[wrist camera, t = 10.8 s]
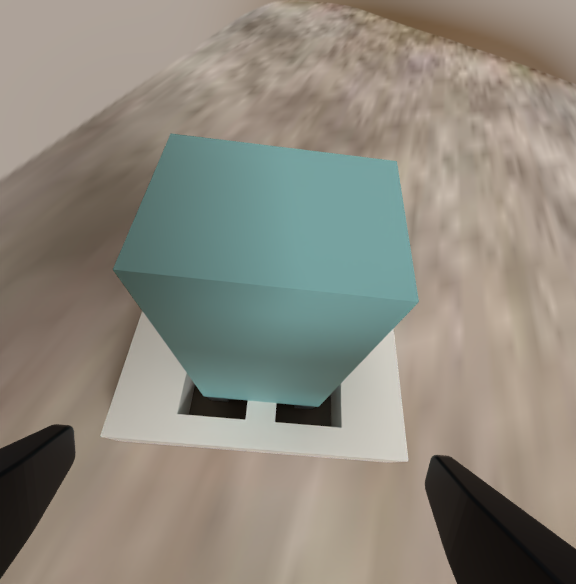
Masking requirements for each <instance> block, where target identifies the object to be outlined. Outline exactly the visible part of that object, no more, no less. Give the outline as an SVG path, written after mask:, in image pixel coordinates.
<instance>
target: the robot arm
mask: <svg viewBox="0 0 576 584" xmlns="http://www.w3.org/2000/svg"><path fill="white" fill-rule="evenodd" d="M74 459H75V440H74V429H73V428H72V426H69V425H59V424H55V425H51V426H49V427H47V428H44V429H42V430H40V431H38V432H36V433H34V434H31V435H29V436H27V437H25V438H23V439H21V440H18V441H16V442H14V443H12V444H10V445H8V446H5V447H3V448H1V449H0V579H1V577H2V576H3V574H4V573H5V572H6V570H7V569H8V567H9V566H10V564H11V563H12V562H13V560H14V559H15V557H16V556H17V554H18V553H19V551H20V550H21V549H22V547H23V546H24V544H25V543H26V541H27V540H28V538H29V537H30V535H31V534H32V532H33V531H34V529H35V527H36V526H37V524H38V523H39V521H40V519H41V518H42V516H43V514H44V512H45V511H46V509H47V507H48V505H49V504H50V502H51V500H52V499H53V497H54V495H55V493H56V492H57V490H58V488H59V487H60V485H61V483H62V481H63V480H64V478H65V476H66V475H67V473H68V471H69V469H70V468H71V466H72V464H73V462H74ZM425 489H426V493H427V496H428V500H429V503H430V506H431V509H432V512H433V515H434V519H435V522H436V525H437V528H438V531H439V535H440V538H441V541H442V544H443V547H444V550H445V553H446V556H447V559H448V562H449V565H450V567H451V570H452V572H453V575H454V577H455V580H456V582H457V584H576V549H575V548H574V547H572V546H571V545H570V544H568V543H567V542H566V541H564V540H563V539H561V538H560V537H559V536H557V535H556V534H555V533H553V532H552V531H551V530H549V529H548V528H547V527H545V526H544V525H542V524H541V523H540V522H538V521H537V520H536V519H534V518H533V517H532V516H530V515H529V514H528V513H526V512H525V511H524V510H522V509H521V508H519V507H518V506H517V505H515V504H514V503H513V502H511V501H510V500H509V499H507V498H506V497H505V496H503V495H502V494H500V493H499V492H498V491H496V490H495V489H494V488H492V487H491V486H490V485H488V484H487V483H486V482H484V481H483V480H481V479H480V478H479V477H477V476H476V475H475V474H473V473H472V472H471V471H469V470H468V469H467V468H465V467H464V466H463V465H461V464H460V463H458V462H457V461H456V460H454V459H453V458H452V457H450V456H444V455H434V456H432V458H431V460H430V464H429V468H428V471H427V475H426V479H425Z"/></svg>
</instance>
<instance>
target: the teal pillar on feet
mask: <svg viewBox="0 0 576 584" xmlns="http://www.w3.org/2000/svg"><path fill="white" fill-rule="evenodd" d="M113 271H114V272H115V273H116V275H117V276H118V278H119V279H120V280H121V282H122V283H123V285H124V286H125V287H126V289H127V290H128V292H129V293H130V294H131V296H132V297H133V299H134V300H135V301H136V303H137V304H138V305H139V307H140V308H141V310H142V311H143V312H144V314H145V315H146V317H147V318H148V319H149V321H150V322H151V324H152V325H153V326H154V328H155V329H156V331H157V332H158V333H159V335H160V336H161V338H162V339H163V340H164V342H165V343H166V345H167V346H168V347H169V349H170V350H171V351H172V353H173V354H174V356H175V357H176V358H177V360H178V361H179V363H180V364H181V365H182V367H183V368H184V370H185V371H186V372H187V374H188V375H189V377H190V378H191V379H192V381H193V382H194V384H195V385H196V386H197V388H198V389H199V390H200V392H201V393H202V395H203V396H205V397H208V398H209V400H213V401H224V402H229V399H238V400H249V401H260V402H270V403H281V404H292V405H294V408H301V409H313V408H314V407H319V406H320V405H321V404H322V403H323V402H324V401H325V400H326V399H327V397H328V396H329V395H330V394H331V393H332V392H333V391H334V390H335V389H336V388H337V387H338V386H339V385H340V384H341V383H342V382H343V381H344V380H345V379H346V378H347V377H348V376H349V374H350V373H351V372H352V371H353V370H354V369H355V368H356V367H357V366H358V365H359V364H360V363H361V362H362V361H363V360H364V359H365V358H366V357H367V356H368V355H369V354H370V352H371V351H372V350H373V349H374V348H375V347H376V346H377V345H378V344H379V343H380V342H381V341H382V340H383V339H384V338H385V337H386V336H387V335H388V334H389V333H390V332H391V331H392V329H393V328H394V327H395V326H396V325H397V324H398V323H399V322H400V321H401V320H402V319H403V318H404V317H405V316H406V315H407V314H408V313H409V312H410V311H411V310H412V309H413V307H414V306H415V305H416V304H417V303H418V302H419V300H418V294H417V287H416V281H415V275H414V268H413V262H412V255H411V249H410V243H409V236H408V230H407V224H406V217H405V211H404V204H403V198H402V192H401V185H400V179H399V173H398V166H397V161H390V160H382V159H374V158H366V157H358V156H350V155H342V154H333V153H325V152H317V151H309V150H301V149H293V148H285V147H276V146H268V145H260V144H252V143H244V142H236V141H228V140H219V139H211V138H203V137H195V136H187V135H179V134H170V136H169V139H168V141H167V144H166V146H165V148H164V151H163V153H162V155H161V158H160V160H159V162H158V165H157V167H156V169H155V172H154V174H153V176H152V179H151V181H150V183H149V186H148V188H147V190H146V193H145V195H144V197H143V200H142V202H141V205H140V207H139V209H138V212H137V214H136V216H135V219H134V221H133V223H132V226H131V228H130V230H129V233H128V235H127V237H126V240H125V242H124V244H123V247H122V249H121V251H120V254H119V256H118V259H117V261H116V263H115V266H114V268H113Z"/></svg>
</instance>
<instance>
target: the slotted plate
mask: <svg viewBox="0 0 576 584" xmlns="http://www.w3.org/2000/svg"><path fill="white" fill-rule="evenodd" d="M194 388H195V384H194V382H193V381H192V379H191V378H190V377H189V375H188V374H187V372H186V371H185V370H184V368H183V367H182V365H181V364H180V363H179V361H178V360H177V358H176V357H175V356H174V354H173V353H172V351H171V350H170V349H169V347H168V346H167V345H166V343H165V342H164V340H163V339H162V338H161V336H160V335H159V333H158V332H157V331H156V329H155V328H154V326H153V325H152V324H151V322H150V321H149V319H148V318H147V317H146V315H145V314H144V312H143V311H142V313H141V316H140V319H139V322H138V325H137V328H136V331H135V334H134V337H133V340H132V343H131V346H130V349H129V352H128V355H127V358H126V361H125V364H124V367H123V370H122V373H121V376H120V379H119V382H118V385H117V388H116V391H115V394H114V397H113V400H112V403H111V406H110V409H109V412H108V414H107V417H106V420H105V423H104V426H103V429H102V432H101V435H100V437H104V438H108V439H113V440H117V441H123V442H136V443H149V444H161V445H174V446H186V447H199V448H211V449H224V450H237V451H249V452H262V453H274V454H287V455H300V456H312V457H325V458H337V459H350V460H362V461H375V462H388V463H390V462H406V461H408V453H407V444H406V435H405V426H404V417H403V409H402V400H401V391H400V382H399V373H398V364H397V355H396V346H395V337H394V328H393V329H392V331H391V332H390V333H389V334H388V335H387V336H386V337H385V338H384V339H383V340H382V341H381V342H380V343H379V344H378V345H377V346H376V347H375V348H374V349H373V350H372V351H371V352H370V354H369V355H368V356H367V357H366V358H365V359H364V360H363V361H362V362H361V363H360V364H359V365H358V366H357V367H356V368H355V369H354V370H353V371H352V372H351V373H350V374H349V376H348V377H347V378H346V379H345V380H344V381H343V382H342V383H341V384H340V385H339V386H338V387H337V388H336V389H335V390H334V391H333V392H332V393H331V427H327V426H315V425H303V424H291V423H279V422H275V416H276V404H277V403H270V402H260V401H249V400H248V403H247V411H246V419H245V420H243V419H231V418H219V417H207V416H195V415H189V411H190V406H191V402H192V397H193V392H194Z"/></svg>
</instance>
